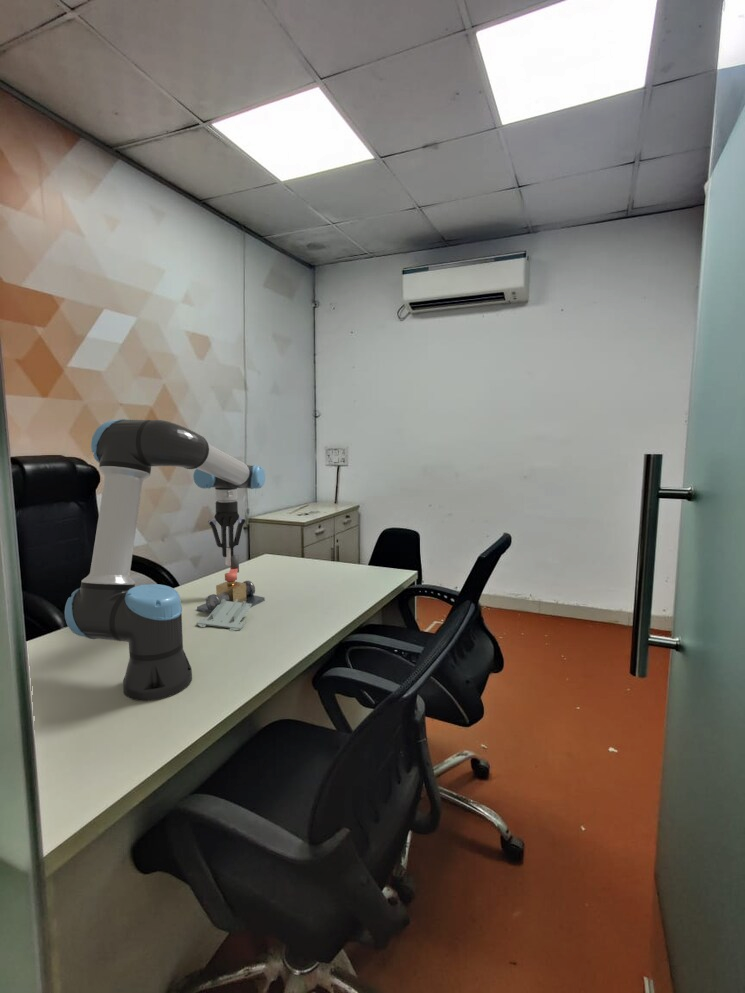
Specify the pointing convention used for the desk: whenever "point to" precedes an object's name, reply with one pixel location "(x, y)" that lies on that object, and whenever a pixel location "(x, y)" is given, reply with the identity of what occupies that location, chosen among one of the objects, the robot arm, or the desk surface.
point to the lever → (233, 569)
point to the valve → (231, 595)
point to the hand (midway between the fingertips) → (228, 565)
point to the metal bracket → (226, 615)
